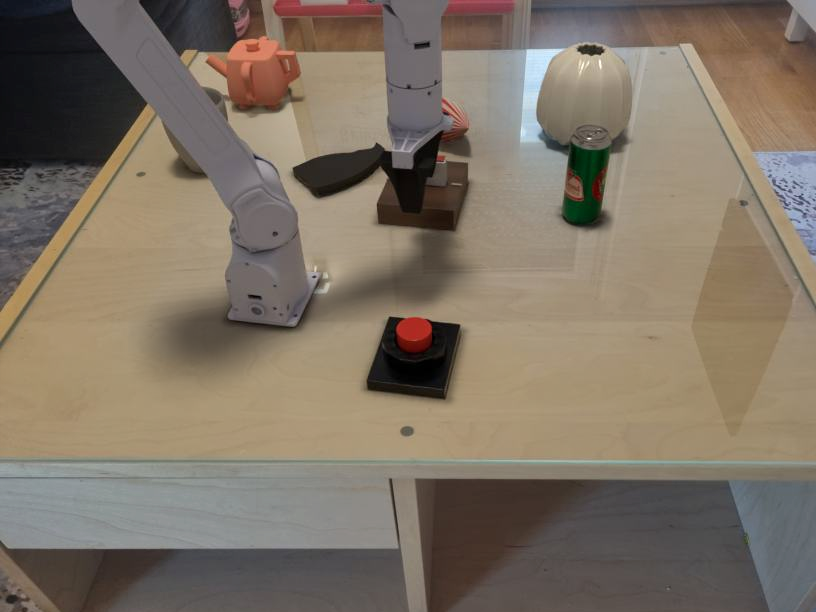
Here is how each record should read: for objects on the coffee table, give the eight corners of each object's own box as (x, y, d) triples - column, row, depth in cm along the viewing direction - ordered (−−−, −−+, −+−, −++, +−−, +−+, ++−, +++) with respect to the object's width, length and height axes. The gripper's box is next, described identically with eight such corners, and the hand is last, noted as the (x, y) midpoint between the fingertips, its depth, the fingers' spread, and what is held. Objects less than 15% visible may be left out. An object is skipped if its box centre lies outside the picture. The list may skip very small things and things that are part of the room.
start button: (428, 355, 76) (428, 342, 74) (393, 350, 76) (392, 338, 75) (435, 331, 78) (434, 318, 77) (401, 327, 79) (400, 315, 77)
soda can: (555, 209, 100) (564, 126, 91) (588, 202, 101) (600, 119, 93) (572, 230, 96) (583, 145, 88) (606, 222, 98) (621, 138, 89)
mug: (243, 171, 107) (229, 107, 100) (179, 184, 104) (161, 119, 97) (227, 134, 115) (213, 72, 108) (168, 145, 112) (150, 83, 105)
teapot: (211, 98, 124) (197, 39, 117) (275, 78, 129) (265, 21, 122) (245, 124, 117) (232, 63, 110) (310, 101, 123) (302, 42, 116)
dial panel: (454, 230, 96) (454, 209, 94) (377, 222, 97) (375, 202, 95) (468, 181, 105) (469, 161, 103) (397, 175, 106) (396, 155, 104)
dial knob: (400, 183, 99) (399, 157, 96) (403, 176, 100) (401, 151, 97) (445, 186, 98) (445, 161, 96) (447, 180, 99) (447, 155, 97)
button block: (444, 398, 75) (444, 377, 73) (367, 388, 76) (364, 368, 74) (460, 332, 82) (460, 311, 80) (389, 324, 83) (387, 303, 81)
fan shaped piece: (402, 170, 107) (402, 160, 106) (317, 199, 101) (315, 189, 100) (373, 146, 112) (372, 136, 111) (290, 172, 106) (288, 162, 105)
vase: (528, 152, 111) (535, 63, 102) (543, 110, 121) (550, 26, 111) (622, 164, 108) (637, 74, 99) (629, 120, 118) (644, 34, 109)
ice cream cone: (414, 131, 124) (478, 156, 109) (382, 118, 120) (443, 142, 105) (427, 95, 123) (494, 115, 108) (395, 80, 119) (459, 99, 104)
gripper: (440, 112, 70) (442, 232, 80) (463, 51, 81) (462, 163, 90) (367, 107, 71) (377, 226, 80) (399, 47, 82) (404, 159, 91)
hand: (418, 193), depth 85 cm, fingers open, 7 cm apart
